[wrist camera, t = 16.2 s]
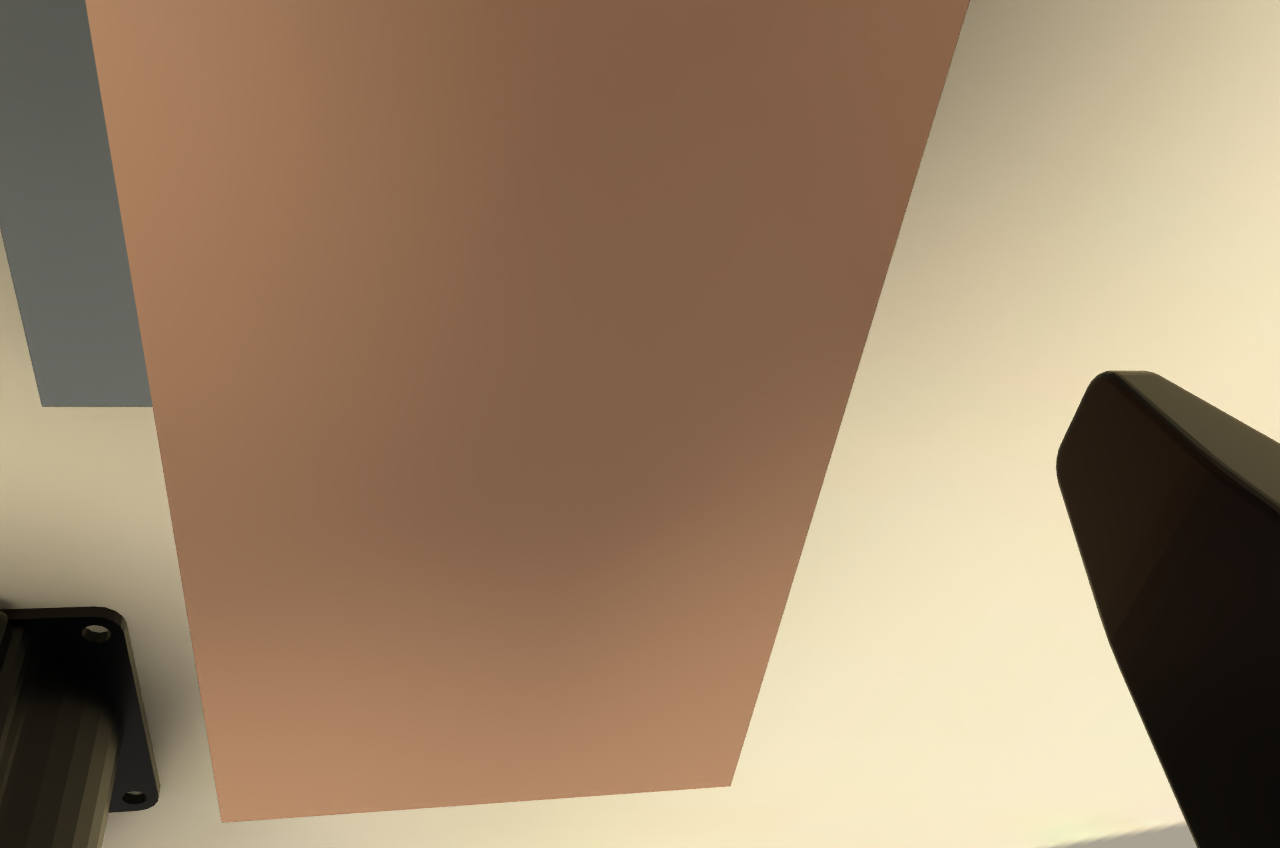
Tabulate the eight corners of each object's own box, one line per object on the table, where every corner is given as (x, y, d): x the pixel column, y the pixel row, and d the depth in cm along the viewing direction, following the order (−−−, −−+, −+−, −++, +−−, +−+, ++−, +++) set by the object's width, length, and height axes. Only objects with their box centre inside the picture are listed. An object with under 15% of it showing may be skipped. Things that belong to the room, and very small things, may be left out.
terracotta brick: (653, 479, 15) (730, 786, 12) (260, 486, 14) (221, 822, 11) (821, -442, 9) (1078, -355, 6) (159, -543, 8) (0, -509, 5)
